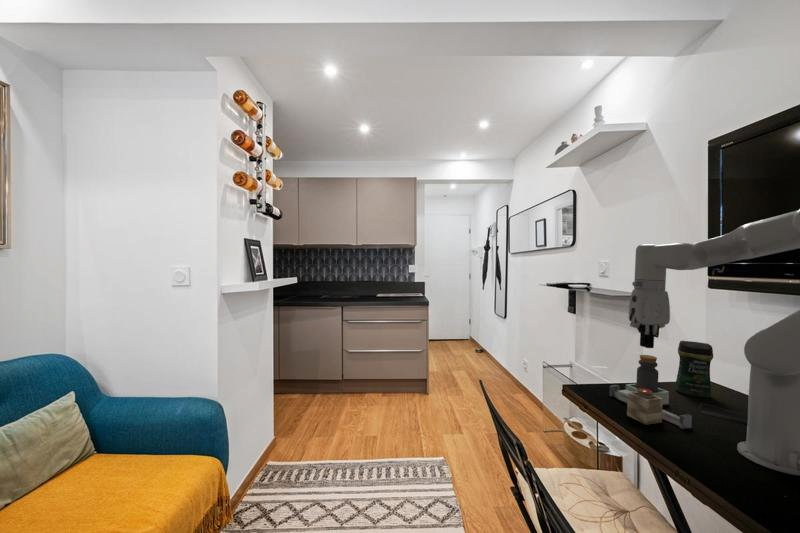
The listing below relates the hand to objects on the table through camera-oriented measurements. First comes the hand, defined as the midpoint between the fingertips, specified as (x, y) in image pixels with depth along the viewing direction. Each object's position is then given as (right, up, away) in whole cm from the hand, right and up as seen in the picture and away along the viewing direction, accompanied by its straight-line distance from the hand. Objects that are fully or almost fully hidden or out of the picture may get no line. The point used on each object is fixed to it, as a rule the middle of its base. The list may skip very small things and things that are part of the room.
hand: (646, 346), depth 103 cm
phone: (+27, -22, +2) cm, 35 cm away
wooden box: (-1, -21, -1) cm, 21 cm away
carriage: (+7, -21, +12) cm, 25 cm away
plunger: (-1, -18, -1) cm, 18 cm away
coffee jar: (+31, -22, +20) cm, 43 cm away
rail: (+4, -21, +5) cm, 22 cm away
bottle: (+9, -21, +13) cm, 26 cm away
